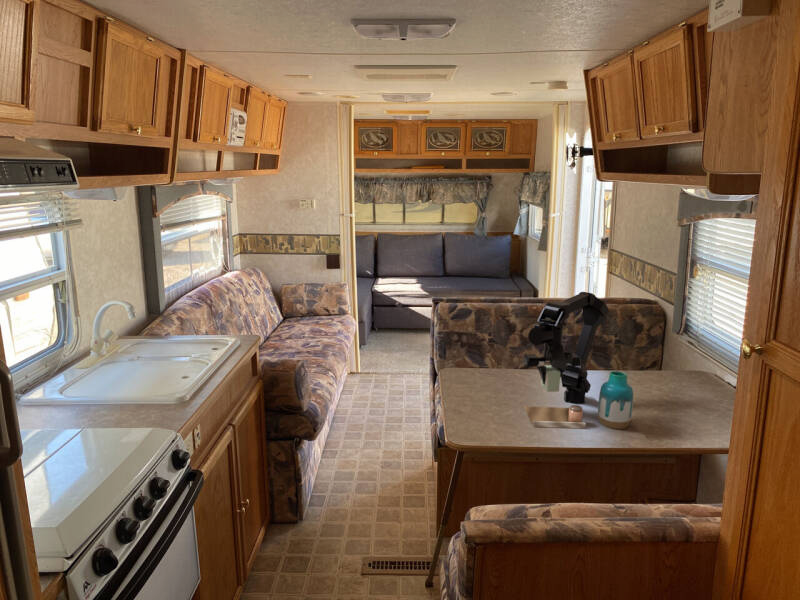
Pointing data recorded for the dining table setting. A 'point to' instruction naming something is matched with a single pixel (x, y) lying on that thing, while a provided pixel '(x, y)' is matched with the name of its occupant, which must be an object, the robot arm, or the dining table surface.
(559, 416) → the wooden tray
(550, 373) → the tea box
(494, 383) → the dining table surface
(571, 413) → the spice jar
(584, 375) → the robot arm
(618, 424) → the vase
